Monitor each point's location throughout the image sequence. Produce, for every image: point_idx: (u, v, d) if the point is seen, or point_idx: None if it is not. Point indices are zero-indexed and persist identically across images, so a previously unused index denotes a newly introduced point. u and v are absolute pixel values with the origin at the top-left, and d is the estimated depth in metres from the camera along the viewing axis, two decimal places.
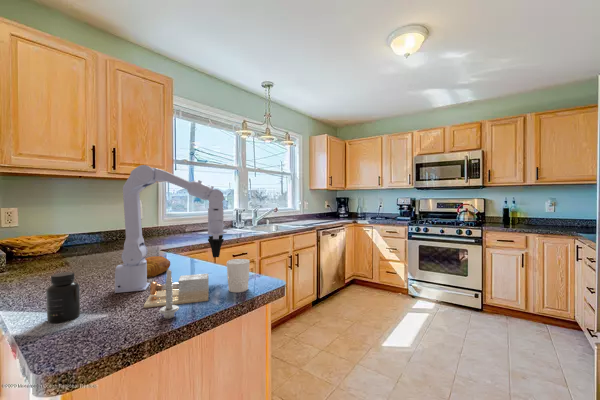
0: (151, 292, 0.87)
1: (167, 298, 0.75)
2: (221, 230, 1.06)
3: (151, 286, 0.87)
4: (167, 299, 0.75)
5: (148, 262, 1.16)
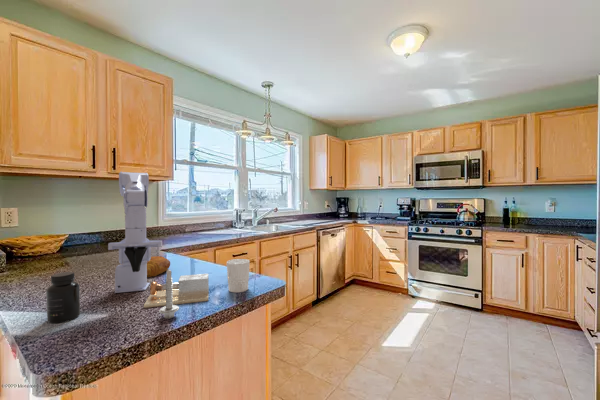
0: (151, 292, 0.87)
1: (167, 298, 0.75)
2: (127, 241, 0.84)
3: (151, 286, 0.87)
4: (167, 299, 0.75)
5: (148, 262, 1.16)
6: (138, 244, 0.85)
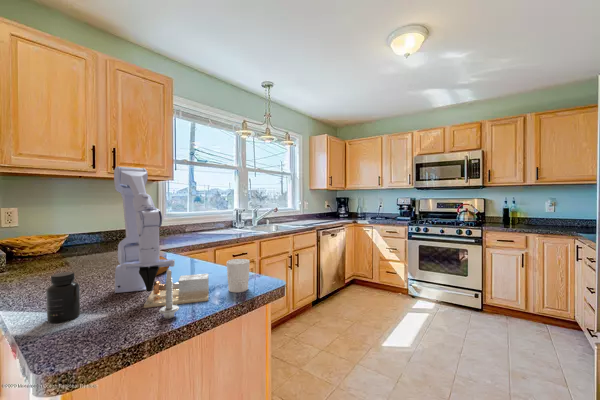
0: (154, 292, 0.87)
1: (167, 298, 0.75)
2: (141, 261, 0.86)
3: (154, 286, 0.87)
4: (167, 299, 0.75)
5: None
6: (152, 264, 0.86)
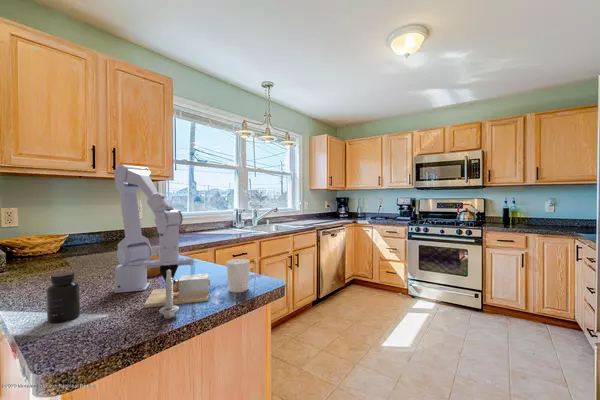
0: (174, 290, 0.89)
1: (167, 298, 0.75)
2: (161, 260, 0.87)
3: (174, 284, 0.89)
4: (167, 299, 0.75)
5: None
6: (172, 263, 0.88)
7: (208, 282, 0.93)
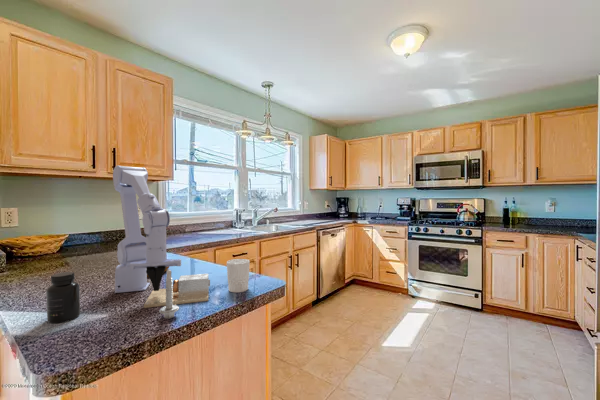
0: (174, 290, 0.89)
1: (167, 298, 0.75)
2: (148, 261, 0.86)
3: (174, 284, 0.89)
4: (167, 299, 0.75)
5: None
6: (159, 264, 0.87)
7: (208, 282, 0.93)
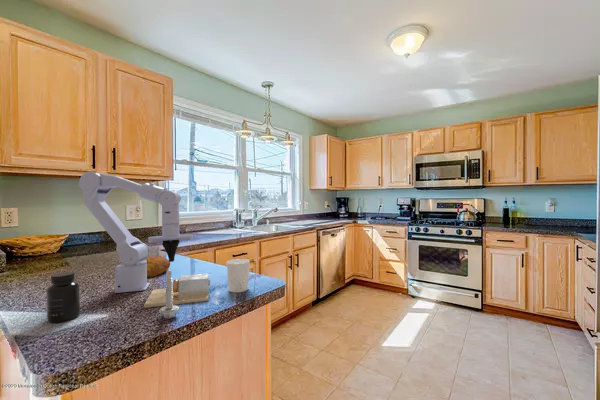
0: (174, 290, 0.89)
1: (167, 298, 0.75)
2: (164, 235, 0.98)
3: (174, 284, 0.89)
4: (167, 299, 0.75)
5: (148, 262, 1.16)
6: (173, 237, 0.98)
7: (208, 282, 0.93)
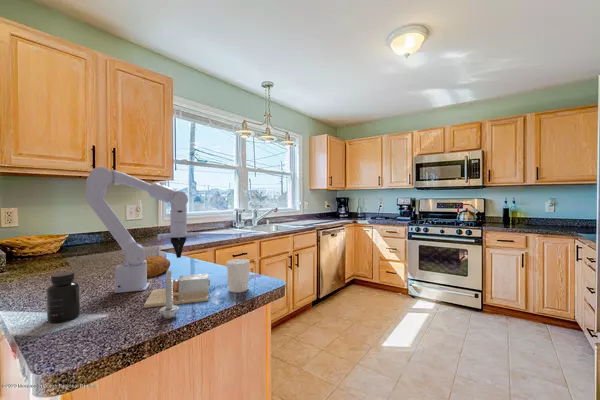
0: (174, 290, 0.89)
1: (167, 298, 0.75)
2: (172, 232, 1.05)
3: (174, 284, 0.89)
4: (167, 299, 0.75)
5: (148, 262, 1.16)
6: (181, 235, 1.05)
7: (208, 282, 0.93)
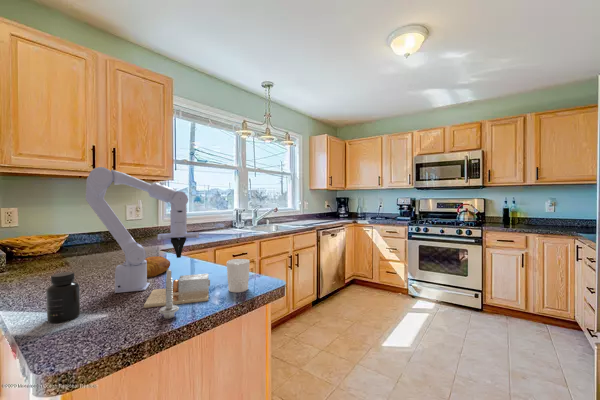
0: (174, 290, 0.89)
1: (167, 298, 0.75)
2: (172, 232, 1.05)
3: (174, 284, 0.89)
4: (167, 299, 0.75)
5: (148, 262, 1.16)
6: (181, 235, 1.05)
7: (208, 282, 0.93)
